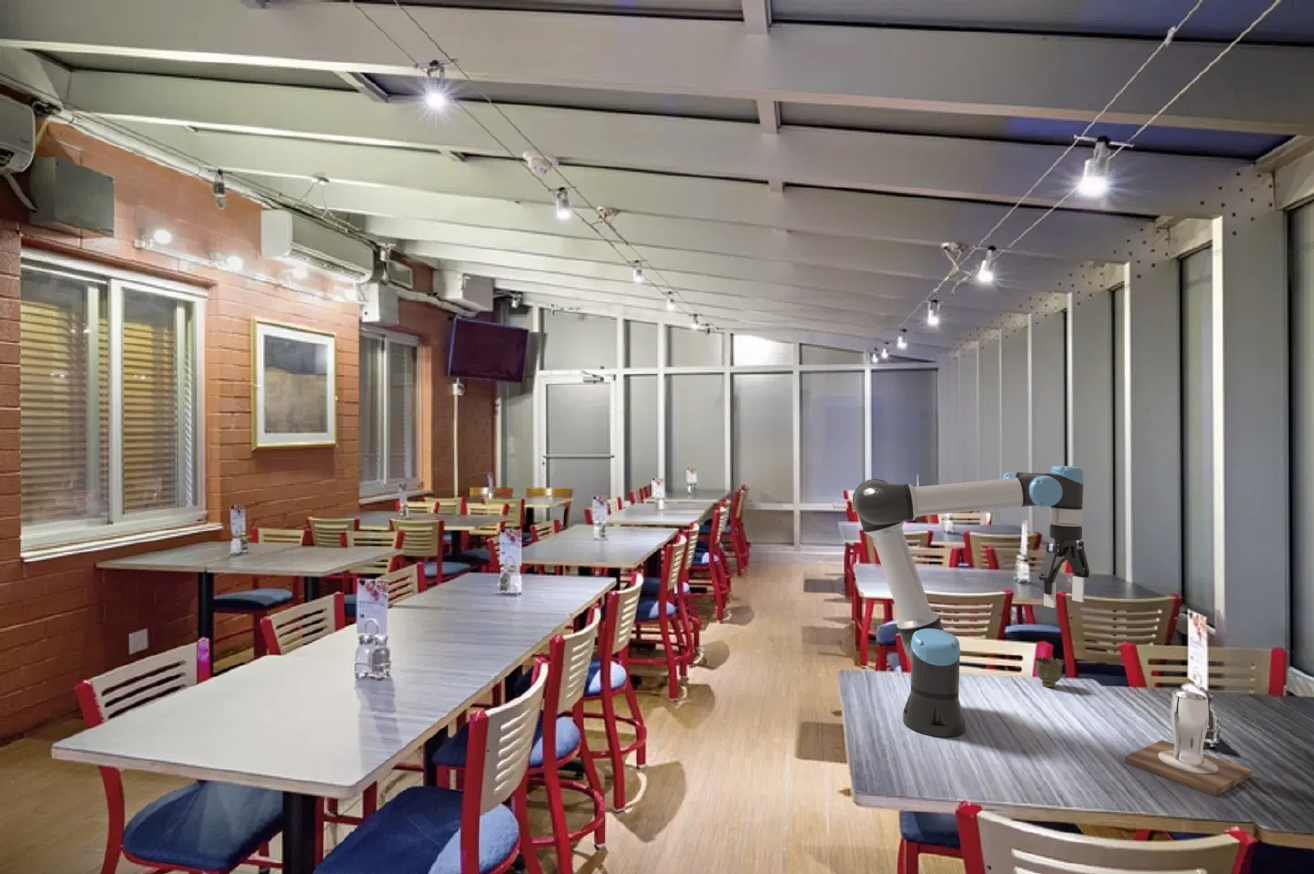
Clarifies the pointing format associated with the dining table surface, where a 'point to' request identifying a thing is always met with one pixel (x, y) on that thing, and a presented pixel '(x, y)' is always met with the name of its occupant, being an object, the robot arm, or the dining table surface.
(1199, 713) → the beer glass
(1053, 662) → the cup
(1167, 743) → the serving board
